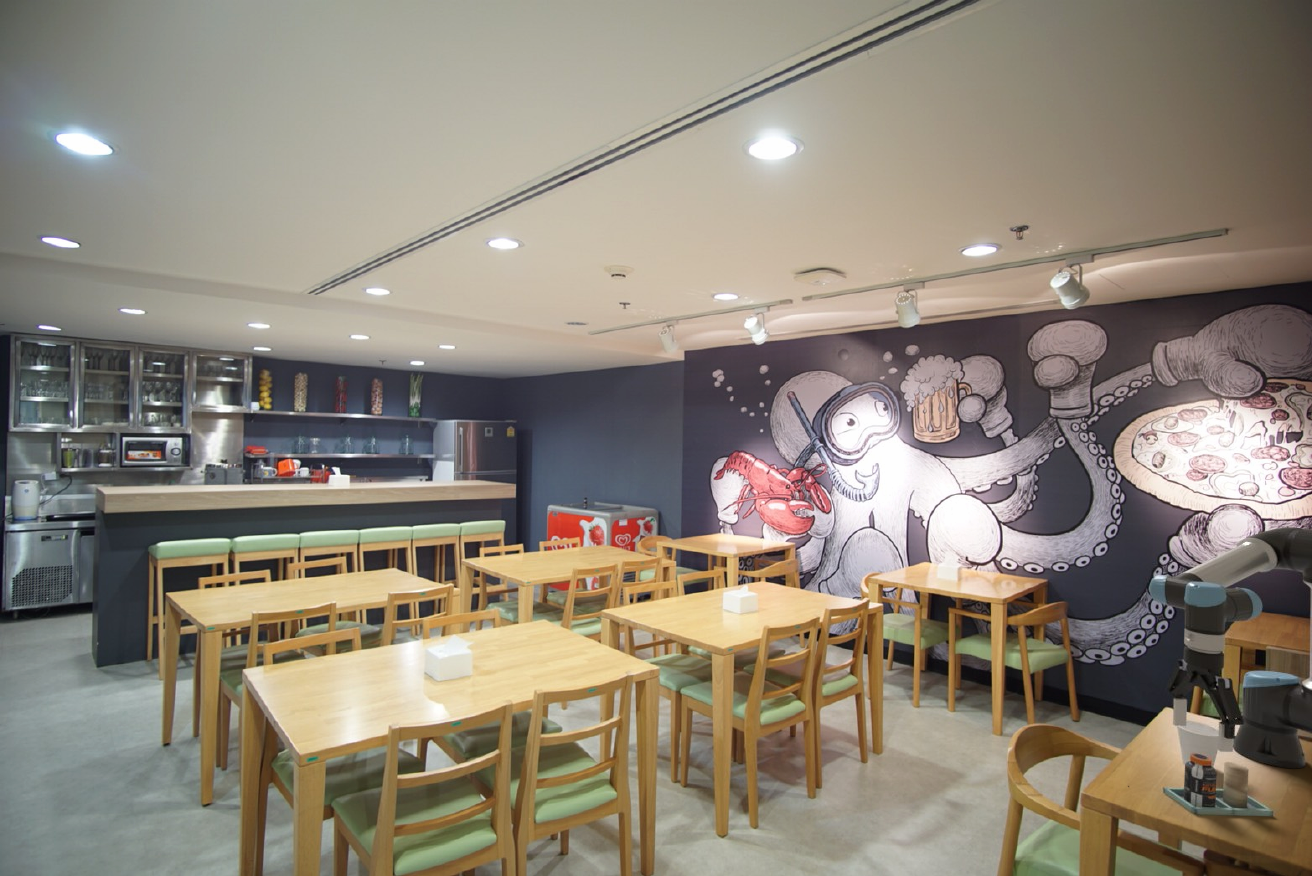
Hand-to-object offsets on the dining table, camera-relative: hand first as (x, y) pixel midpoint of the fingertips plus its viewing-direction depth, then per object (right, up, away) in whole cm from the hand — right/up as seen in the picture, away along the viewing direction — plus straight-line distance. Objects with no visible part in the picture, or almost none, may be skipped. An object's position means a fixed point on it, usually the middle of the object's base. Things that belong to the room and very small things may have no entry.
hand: (1201, 737), depth 163 cm
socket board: (+4, -17, 0) cm, 17 cm away
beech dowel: (+8, -16, 0) cm, 18 cm away
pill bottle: (-1, -16, 0) cm, 16 cm away
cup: (+14, -17, +20) cm, 30 cm away
